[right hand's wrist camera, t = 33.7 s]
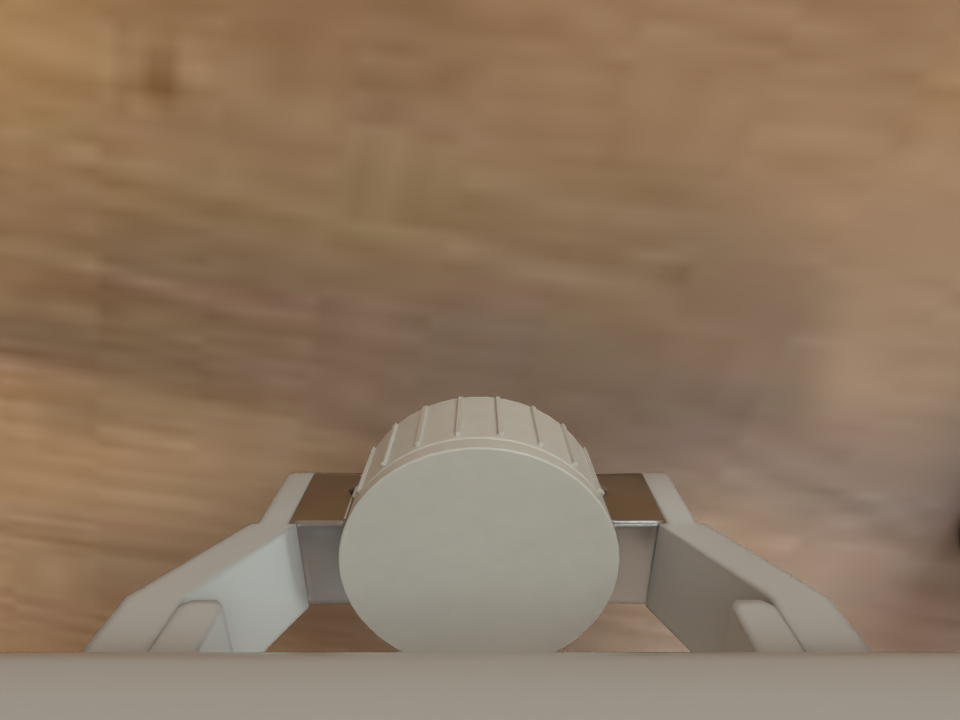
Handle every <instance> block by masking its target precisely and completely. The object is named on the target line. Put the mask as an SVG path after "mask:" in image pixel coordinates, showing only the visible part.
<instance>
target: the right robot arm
mask: <svg viewBox="0 0 960 720" xmlns="http://www.w3.org/2000/svg"><path fill="white" fill-rule="evenodd" d="M360 474H361V475H360ZM361 476H362V473H315V472H301V473H291V474H289V475H288V476H287V477H286V479H285V480H284V482H283V484H282V485H281V487H280V489H279V490H278V492H277V494H276V495H275V497H274V498H273V500H272V502H271V503H270V505H269V507H268V508H267V510H266V512H265V513H264V515H263V517H262V518H261V520H260V522H259V523H258V524H249V525H248V526H246V527H244V528H242V529H241V530H239V531H237V532H236V533H234V534H232V535H231V536H229V537H227V538H226V539H224V540H222V541H220V542H219V543H217V544H215V545H214V546H212V547H210V548H209V549H207V550H205V551H203V552H202V553H200V554H198V555H197V556H195V557H193V558H192V559H190V560H188V561H186V562H185V563H183V564H181V565H180V566H178V567H176V568H175V569H173V570H171V571H169V572H168V573H166V574H164V575H163V576H161V577H159V578H158V579H156V580H154V581H153V582H151V583H149V584H147V585H146V586H144V587H142V588H141V589H139V590H137V591H136V592H134V593H132V594H130V595H129V596H127V597H125V599H124V600H123V601H122V602H121V604H120V605H119V606H118V607H117V609H116V610H115V611H114V612H113V613H112V615H111V616H110V617H109V618H108V620H107V621H106V622H105V623H104V625H103V626H102V627H101V628H100V630H99V631H98V632H97V633H96V635H95V636H94V637H93V638H92V640H91V641H90V642H89V643H88V645H87V646H86V647H85V648H84V650H83V651H82V652H0V720H960V652H871V651H870V649H869V648H868V647H867V645H866V644H865V643H864V642H863V640H862V639H861V638H860V637H859V635H858V634H857V633H856V631H855V630H854V629H853V628H852V626H851V625H850V624H849V623H848V621H847V620H846V619H845V617H844V616H843V615H842V614H841V612H840V611H839V610H838V608H837V607H836V606H835V605H834V603H833V602H832V601H831V600H830V598H828V597H826V596H825V595H823V594H821V593H820V592H818V591H816V590H815V589H813V588H811V587H810V586H808V585H806V584H805V583H803V582H801V581H800V580H798V579H796V578H795V577H793V576H791V575H790V574H788V573H786V572H785V571H783V570H781V569H780V568H778V567H776V566H774V565H773V564H771V563H769V562H768V561H766V560H764V559H763V558H761V557H759V556H758V555H756V554H754V553H753V552H751V551H749V550H748V549H746V548H744V547H743V546H741V545H739V544H738V543H736V542H734V541H733V540H731V539H729V538H728V537H726V536H724V535H723V534H721V533H719V532H717V531H716V530H714V529H712V528H711V527H709V526H707V525H706V524H697V523H696V522H695V520H694V518H693V516H692V515H691V513H690V511H689V510H688V508H687V506H686V505H685V503H684V501H683V500H682V498H681V496H680V495H679V493H678V491H677V490H676V488H675V486H674V485H673V483H672V481H671V480H670V478H669V476H668V475H667V474H666V473H664V472H652V473H632V474H596V476H597V478H598V481H599V484H600V486H601V489H603V490H604V493H605V494H604V495H603V499H604V502H605V504H606V507H607V510H608V512H609V515H610V518H611V521H612V523H613V526H614V529H615V531H616V536H617V541H618V545H619V568H618V576H617V579H616V583H615V586H614V590H613V592H612V594H611V596H610V599H609V601H608V603H617V604H646V607H647V608H648V609H649V610H650V611H651V612H652V613H653V614H654V615H655V616H656V617H657V618H658V619H659V620H660V621H661V622H662V623H663V624H664V625H665V626H666V627H667V628H668V629H669V630H670V631H671V632H672V633H673V634H674V635H675V636H676V637H677V638H678V639H679V640H680V641H681V642H682V643H683V644H684V645H685V646H686V647H687V648H688V649H689V650H690V651H691V652H264V651H265V650H266V649H267V648H268V647H269V646H270V645H271V644H272V643H273V642H274V641H275V640H276V639H277V638H278V637H279V636H280V635H281V634H282V633H283V632H284V631H285V630H286V629H287V628H288V627H289V626H290V625H291V624H292V623H293V622H294V621H295V620H296V619H297V618H298V617H299V616H300V615H301V614H302V613H303V612H304V611H305V610H306V609H307V608H308V607H309V604H337V603H350V602H349V600H348V598H347V595H346V593H345V591H344V588H343V584H342V581H341V577H340V571H339V563H338V559H339V545H340V540H341V535H342V531H343V529H344V526H345V523H346V521H347V518H348V515H349V512H350V509H351V507H352V504H353V501H354V497H353V496H352V495H353V492H354V489H355V487H356V486H358V484H359V481H360V478H361ZM351 497H352V500H351ZM350 500H351V503H350ZM349 503H350V506H349V510H348V513H347V516H346V519H344V516H345V513H346V511H347V508H348V505H349Z"/></svg>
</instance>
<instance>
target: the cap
mask: <svg viewBox="0 0 960 720" xmlns="http://www.w3.org/2000/svg"><path fill="white" fill-rule="evenodd" d="M360 475H361V474H360ZM604 494H605V493H604V490H603V489H601V486H600V484H599V481H598V478H597V476H596V473H595V470H594V468H593V465H592V462H591V460H590V457H589V454H588V452H587V449H586V448H585V447H584V448H582V447H581V445H580V444H579V443H578V442H577V440H576V439H575V438H574V437H573V435H572V434H571V433H570V432H569V431H567V429H566V426H565V425H564V424H563V423H562V424H560V423H558V422H557V421H555V420H554V419H553V418H551V417H550V416H548V415H546V414H544V413H543V412H541V411H539V410H537V409H536V407H535V406H531V407H530V406H527V405H524V404H522V403H519V402H515V401H511V400H507V399H502V398H500V397H498V396H496V398H493V397H465V398H463V396H460V397H458V398H457V399H451V400H447V401H443V402H439V403H436V404H433V405H431V406H427V405H426V406H423V408H422V409H421V410H419V411H417V412H415V413H413V414H412V415H410V416H408V417H407V418H405V419H404V420H402V421H401V422H400V423H398V424H397V423H395V424H393V426H392V429H391V430H390V431H389V432H388V433H387V434H386V435H385V436H384V437H383V439H382V440H381V441H380V443H379V444H378V445H377V446H376V448H375V447H372V449H371V451H370V454H369V457H368V459H367V462H366V465H365V468H364V470H363V473H362V476H361V478H360V481H359V484H358V486H356V487H355V489H354V492H353V495H352V496H353V497H354V501H353V504H352V507H351V509H350V512H349V515H348V518H347V521H346V523H345V526H344V529H343V531H342V535H341V540H340V545H339V559H338V563H339V571H340V577H341V581H342V584H343V588H344V591H345V593H346V595H347V598H348V600H349V602H350V604H351V606H352V607H353V609H354V610H355V612H356V613H357V615H358V616H359V617H360V619H361V620H362V621H363V622H364V623H365V624H366V625H367V627H368V628H369V629H370V630H372V631H373V632H374V633H375V634H376V635H377V636H378V637H380V638H381V639H382V640H384V641H385V642H387V643H388V644H390V645H391V646H392V647H394V648H396V649H398V650H400V651H402V652H556V651H557V650H559V649H561V648H563V647H565V646H566V645H568V644H569V643H571V642H572V641H573V640H575V639H576V638H578V637H579V636H580V635H581V634H582V633H583V632H584V631H586V630H587V629H588V628H589V627H590V626H591V625H592V623H593V622H594V621H595V620H596V619H597V618H598V617H599V615H600V614H601V612H602V611H603V609H604V608H605V606H606V605H607V603H608V601H609V599H610V596H611V594H612V592H613V590H614V586H615V583H616V579H617V576H618V568H619V545H618V541H617V536H616V531H615V529H614V526H613V523H612V521H611V518H610V515H609V512H608V510H607V507H606V504H605V502H604V499H603V495H604ZM351 500H352V497H351ZM351 500H350V503H351ZM350 503H349V505H348V508H347V511H346V513H345V516H344V519H346V516H347V513H348V510H349V506H350Z"/></svg>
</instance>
